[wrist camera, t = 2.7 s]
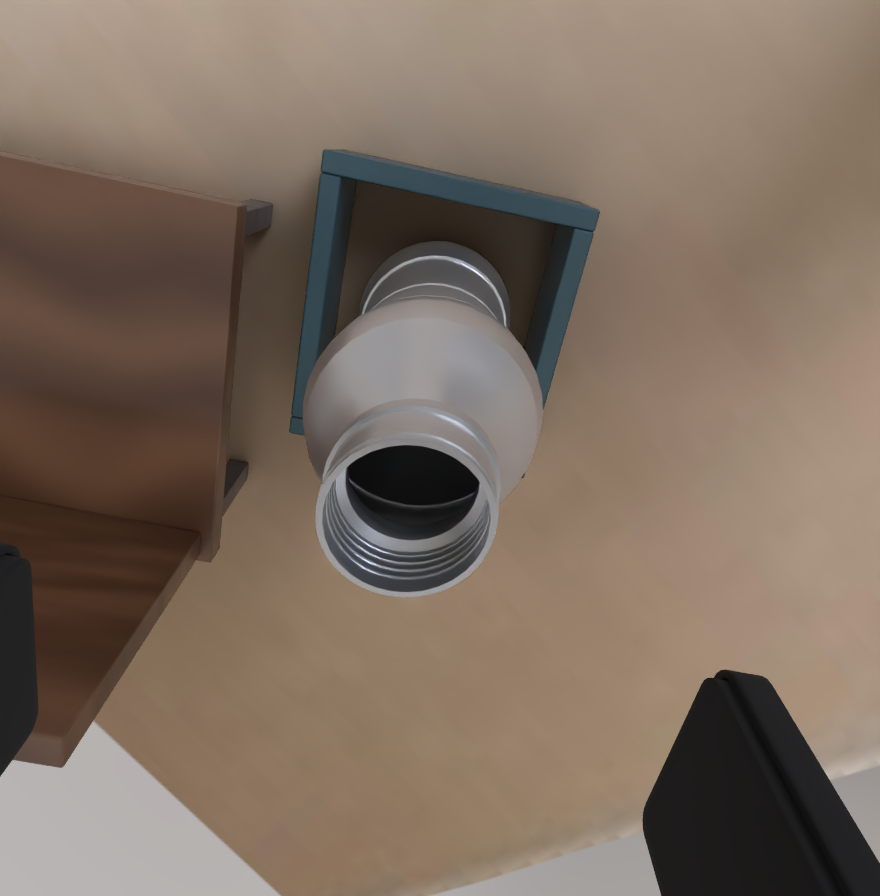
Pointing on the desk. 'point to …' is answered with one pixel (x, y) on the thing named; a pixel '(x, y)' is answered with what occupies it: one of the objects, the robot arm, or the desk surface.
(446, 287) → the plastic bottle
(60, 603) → the chair
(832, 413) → the desk surface
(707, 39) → the desk surface
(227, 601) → the desk surface
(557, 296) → the rectangular frame
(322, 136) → the desk surface
